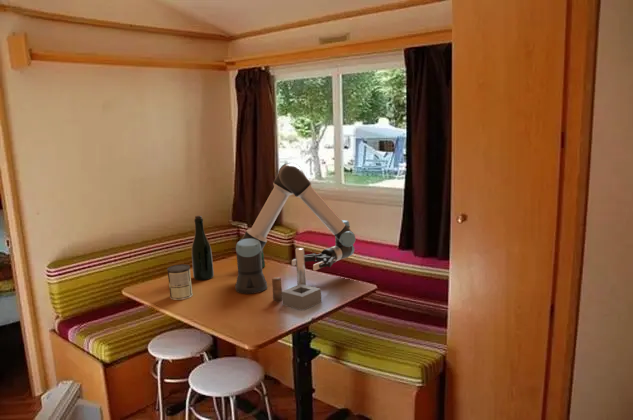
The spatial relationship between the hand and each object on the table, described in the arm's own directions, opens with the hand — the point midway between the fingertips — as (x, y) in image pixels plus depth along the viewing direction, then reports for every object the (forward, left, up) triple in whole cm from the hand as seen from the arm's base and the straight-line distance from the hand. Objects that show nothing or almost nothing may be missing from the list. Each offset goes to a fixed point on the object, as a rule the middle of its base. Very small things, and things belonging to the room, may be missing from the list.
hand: (302, 265), depth 233 cm
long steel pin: (-1, -1, -12) cm, 12 cm away
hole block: (+11, -14, -12) cm, 22 cm away
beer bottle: (-58, -15, -12) cm, 61 cm away
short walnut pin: (-1, -17, -12) cm, 21 cm away
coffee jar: (-48, +13, -12) cm, 51 cm away
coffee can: (-43, -39, -12) cm, 59 cm away
